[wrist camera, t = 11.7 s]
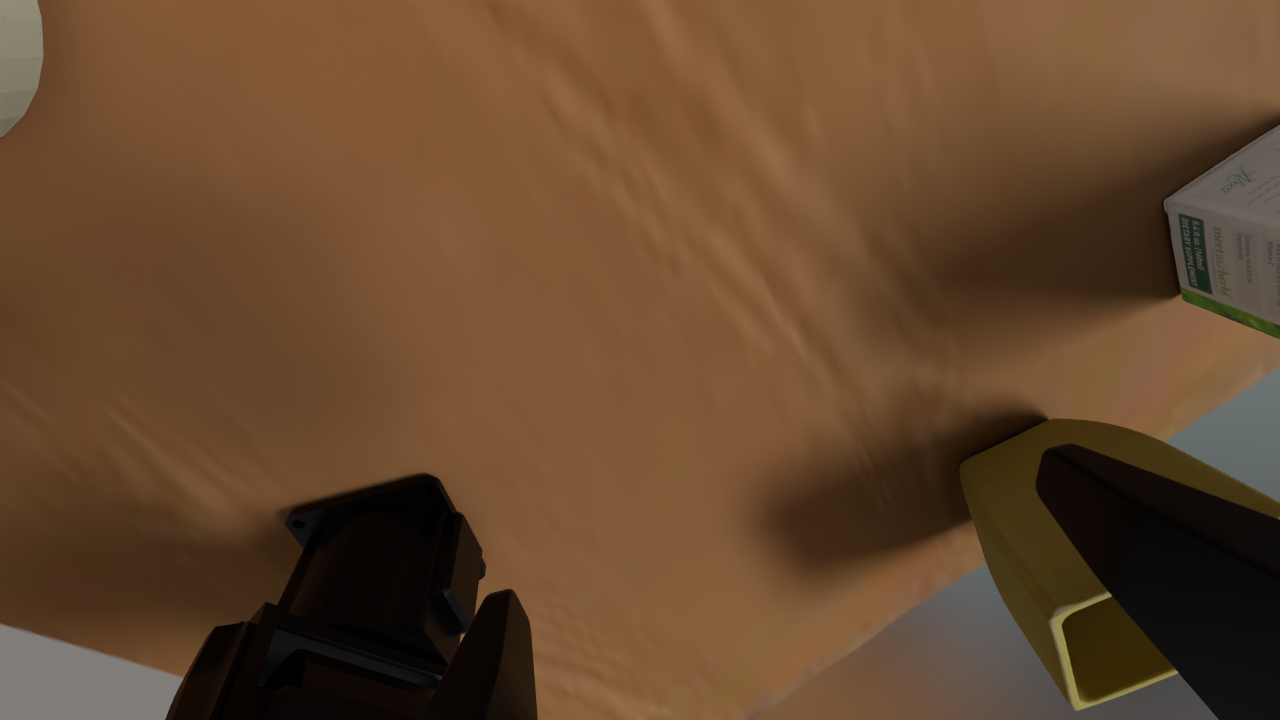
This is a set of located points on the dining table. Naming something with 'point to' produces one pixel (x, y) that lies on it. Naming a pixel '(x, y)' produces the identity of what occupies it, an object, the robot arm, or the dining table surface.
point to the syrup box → (1232, 236)
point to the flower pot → (1074, 555)
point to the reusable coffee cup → (19, 59)
